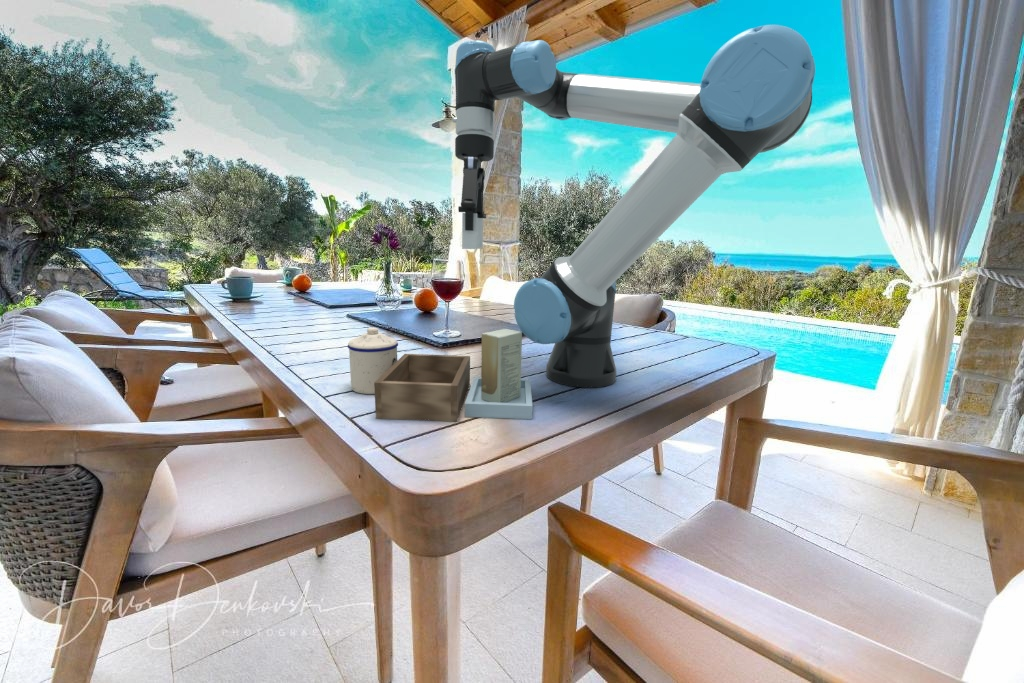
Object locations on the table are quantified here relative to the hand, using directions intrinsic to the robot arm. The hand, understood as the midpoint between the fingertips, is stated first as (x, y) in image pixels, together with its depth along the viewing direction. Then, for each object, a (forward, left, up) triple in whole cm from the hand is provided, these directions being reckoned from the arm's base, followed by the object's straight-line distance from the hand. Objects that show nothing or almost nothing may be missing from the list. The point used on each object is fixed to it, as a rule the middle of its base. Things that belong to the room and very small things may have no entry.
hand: (473, 249), depth 85 cm
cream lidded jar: (+18, +10, -27) cm, 34 cm away
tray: (-7, +17, -27) cm, 32 cm away
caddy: (+6, +17, -27) cm, 32 cm away
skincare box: (-7, +17, -26) cm, 32 cm away
